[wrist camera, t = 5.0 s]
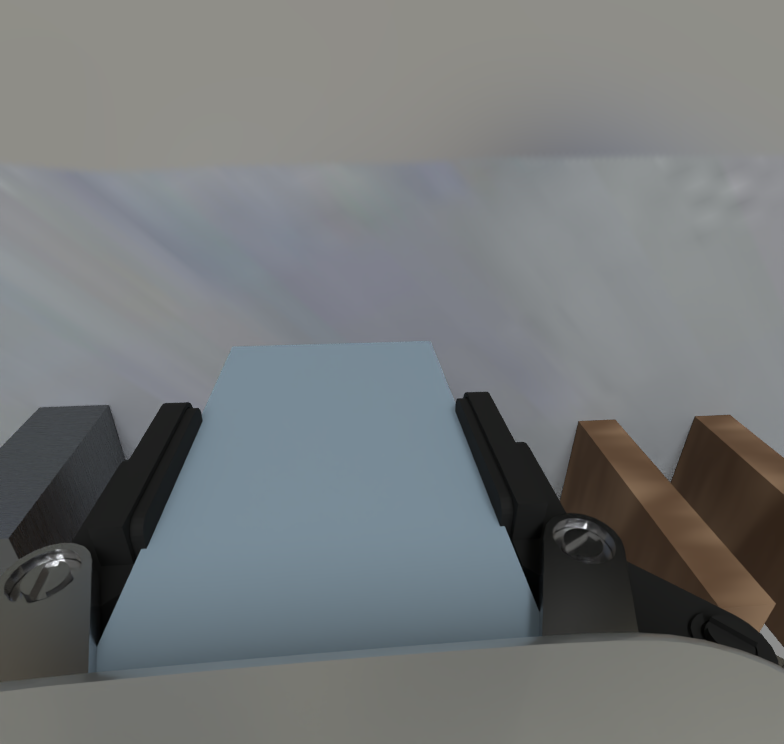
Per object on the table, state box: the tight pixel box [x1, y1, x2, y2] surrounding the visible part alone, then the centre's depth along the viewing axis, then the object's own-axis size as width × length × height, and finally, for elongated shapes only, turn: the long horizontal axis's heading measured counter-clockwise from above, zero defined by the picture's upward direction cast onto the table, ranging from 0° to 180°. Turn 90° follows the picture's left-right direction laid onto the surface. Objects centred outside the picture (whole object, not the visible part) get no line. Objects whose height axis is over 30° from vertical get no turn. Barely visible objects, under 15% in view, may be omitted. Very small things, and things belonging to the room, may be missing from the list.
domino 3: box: [671, 415, 784, 647], centre depth 23 cm, size 2×6×11 cm, turn 179°
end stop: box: [0, 405, 125, 577], centre depth 22 cm, size 3×10×8 cm, turn 179°
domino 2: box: [560, 420, 776, 632], centre depth 23 cm, size 2×6×11 cm, turn 179°
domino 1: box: [96, 341, 539, 672], centre depth 11 cm, size 2×6×11 cm, turn 90°
